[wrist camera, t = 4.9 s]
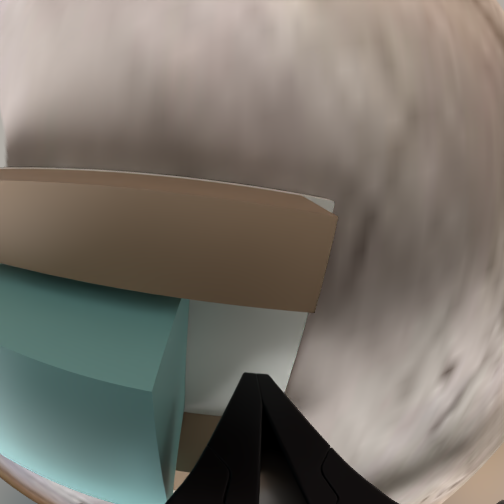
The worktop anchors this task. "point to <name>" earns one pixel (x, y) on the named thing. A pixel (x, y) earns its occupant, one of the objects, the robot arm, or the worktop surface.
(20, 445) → the block
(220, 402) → the chute
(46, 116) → the worktop surface
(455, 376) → the worktop surface
